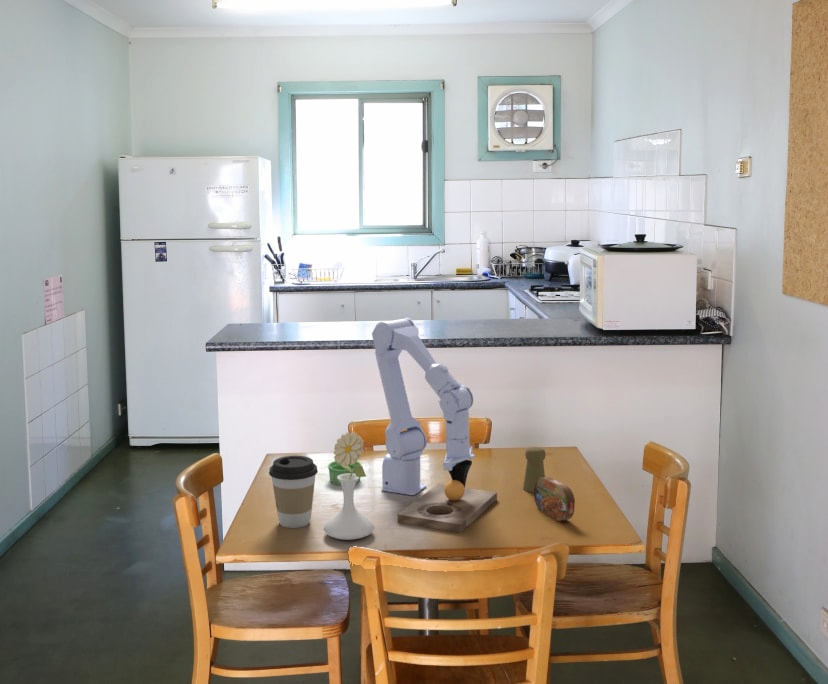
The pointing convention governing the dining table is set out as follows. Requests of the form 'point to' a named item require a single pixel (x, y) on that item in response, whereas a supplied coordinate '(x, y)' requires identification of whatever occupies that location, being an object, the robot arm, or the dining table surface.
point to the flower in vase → (349, 492)
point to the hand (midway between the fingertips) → (459, 490)
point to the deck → (447, 509)
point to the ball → (454, 490)
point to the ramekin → (340, 471)
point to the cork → (533, 467)
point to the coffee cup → (293, 489)
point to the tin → (554, 498)
